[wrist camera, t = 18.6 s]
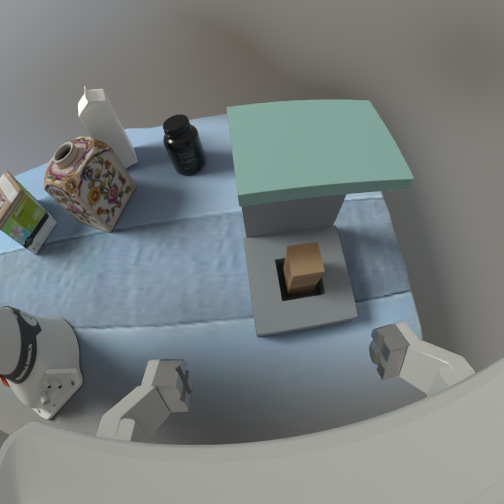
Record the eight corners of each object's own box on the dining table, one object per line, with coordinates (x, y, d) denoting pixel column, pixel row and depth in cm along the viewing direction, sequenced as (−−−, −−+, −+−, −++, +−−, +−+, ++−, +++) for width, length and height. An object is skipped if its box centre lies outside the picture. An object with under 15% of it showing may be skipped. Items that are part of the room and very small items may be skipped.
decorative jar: (138, 186, 54) (102, 127, 37) (112, 234, 50) (62, 183, 33) (100, 178, 56) (63, 126, 39) (76, 221, 52) (28, 175, 35)
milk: (133, 147, 59) (98, 76, 38) (138, 162, 56) (100, 87, 36) (111, 159, 58) (71, 92, 37) (116, 174, 56) (71, 104, 35)
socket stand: (350, 320, 41) (451, 259, 16) (257, 337, 41) (242, 297, 16) (327, 226, 48) (373, 100, 22) (243, 237, 48) (221, 108, 22)
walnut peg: (311, 293, 43) (324, 271, 33) (286, 297, 43) (292, 276, 33) (306, 269, 45) (317, 241, 35) (282, 273, 45) (287, 246, 35)
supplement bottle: (210, 153, 56) (199, 110, 45) (200, 177, 53) (186, 135, 42) (180, 151, 57) (166, 111, 46) (169, 175, 54) (151, 135, 43)
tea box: (59, 221, 52) (21, 188, 38) (36, 256, 49) (-6, 228, 35) (37, 199, 56) (5, 168, 42) (17, 229, 53) (-18, 202, 39)
